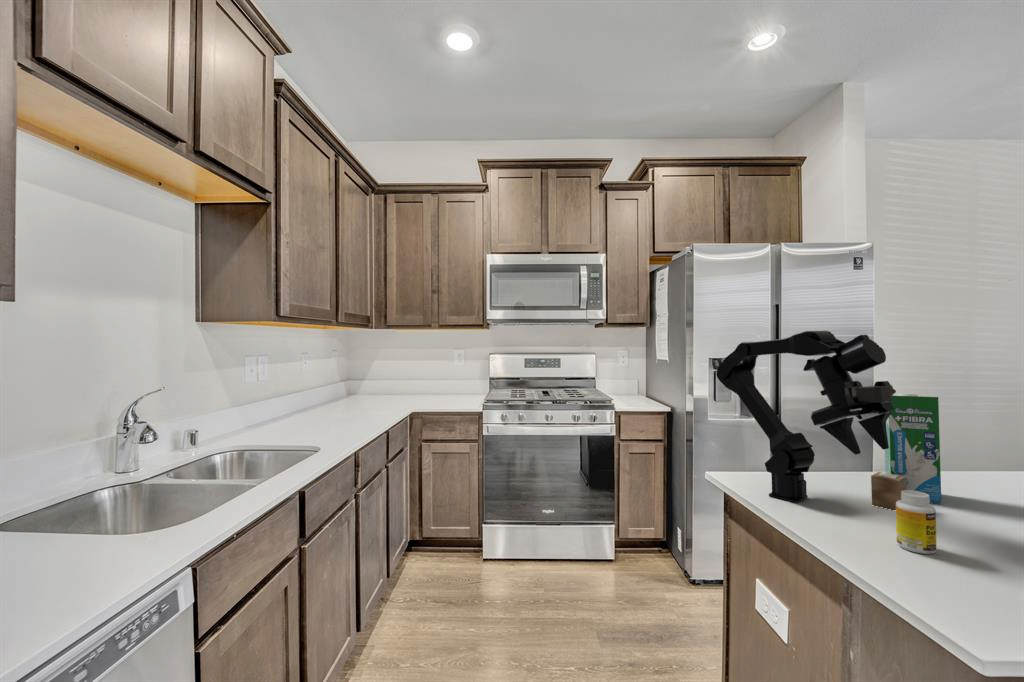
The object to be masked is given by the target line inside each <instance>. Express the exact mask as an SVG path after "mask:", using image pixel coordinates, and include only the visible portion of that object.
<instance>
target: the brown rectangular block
mask: <svg viewBox="0 0 1024 682" xmlns="http://www.w3.org/2000/svg"><path fill="white" fill-rule="evenodd" d="M870 480H871V481H870V483H871V484H870V485H871V506H872V505H874V506H873V507H875V506H878V507H877V508H879V507H883V508H882V509H884V508H887V509H886V510H888V509H891V510H890V511H893V510H896V502H897V501H898V500H901V491H903V490H906V477H905V476H900V475H894V474H888V473H885V472H883V471H882V472H881V471H877V472H876V473H874V474H872V475H871V476H870Z"/></svg>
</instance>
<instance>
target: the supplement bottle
mask: <svg viewBox="0 0 1024 682" xmlns="http://www.w3.org/2000/svg"><path fill="white" fill-rule="evenodd" d="M936 513H937V511H936V508H935V507H934V506H933V505H932V504H930V499H929V495H928V494H926V493H923V492H919V491H913V490H903V491H901V500H898V501H897V502H896V511H895V525H896V526H895V527H896V530H895V531H896V532H895V533H896V543H897V545H898V546H900V547H901V548H903V549H904V550H907V551H910V552H913V553H917V554H924V555H930V554H934V553H936V551H937V514H936Z"/></svg>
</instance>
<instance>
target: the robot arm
mask: <svg viewBox="0 0 1024 682" xmlns="http://www.w3.org/2000/svg"><path fill="white" fill-rule="evenodd" d="M780 354H791V355H798V356H807V357H812V356H815V357H816V356H821V357H820V358H817V359H815V358H812V359H811V358H810V359H807V360H806V364H805V365H804V366H803V371H804V372H810V371H814V372H815V375H816V377H817V378H818V380H819V383H820V385H821V387H822V388H823V390H820V391H819V392H820V394H821V396H822V397H823V396H826V397H827V398H828V400H829V402H830V405H827V406H825V407H822V408H820V409H817V410H814V411H812V412H811V415H810V420H811V421H812V424H813V426H819V428H820V430H821V429H822V430H824V431H826V432H827V433H828V434H829V435H830V436H832V437H833V438H835V439H836V441H838V442H840V443H841V444H842V445H843V446H844V447H845V448H846V449H848V451H850V452H852V454H854V455H860V454H861V449H860V445H859V444H858V440H857V438H856V436H855V434H854V433H855V432H854V431H853V428H852V426H853V422H854V417H856V418H857V419H858V420H859V421H857V422H858V423H859V425H860V426H861V427H862V428H863V429H864V430H865V432H866V433H867V434H868V435H869V436H870V437H871V439H873V440H874V442H875V443H876V444H877V445H878V446H879V447H880V449H882V450H884V451H885V449H888V448H889V445H888V438H887V431H886V421H887V419H888V417H889V416H890V415H892V412H890V411H893V410H895V409H894V408H893V406H892V404H891V402H889V401H893V399H892V396H894V395H895V394H896V392H897V391H896V389H894V386H893V385H892V384H891V383H890V381H888V380H880V381H875V383H874V385H873V386H872V385H870V386H863V384H862V383H861V382H860V381H859V380H853V378H852V376H851V374H850V373H852V374H853V375H854V374H856V375H857V374H859V373H862V372H865V371H867V370H870V369H872V368H874V367H876V366H879V365H882V364H884V363H885V362H886V360H887V356H886V352H885V350H884V349H883V348H882V347H881V346H880V345H879V344H878V343H877V342H875V341H874V340H872V339H871V338H870V336H869V335H868V334H860V335H858V336H855V337H854V338H853V339H851V340H849V341H847V342H844V341H843V340H840V339H838V338H836V336H835V334H833V333H831V331H829V330H805V331H802V332H799V333H798V332H797V333H794V334H793V335H791V336H789V337H785V338H778V339H768V340H760V341H759V340H758V341H743V342H740V343H739V344H738V345H737V346H736V348H735V349H734V351H732V352H731V353H729V354H728V355H727V356H726V357H724V359H723V360H722V362H721V363H720V364H719V365H718V366H717V370H716V377H717V379H718V381H719V382H720V383H721V384H722V385H723V386H724V387H725V388H726V389H728V390H730V391H732V392H733V393H735V394H736V395H737V396H738V397H739V399H740V400H741V401H742V403H743V404H744V406H745V407H746V409H747V410H748V411H749V413H750V414H751V416H752V417H753V419H754V420H755V421H756V422H757V424H758V425H759V427H760V428H761V429H762V431H763V432H764V434H765V435H766V437H767V438H768V440H769V451H770V452H771V454H772V456H771V457H770V458H769V459H767V461H766V462H764V466H765V469H766V472H767V473H770V475H771V492H770V493H768V496H769V497H771V498H777V499H780V500H784V501H789V502H791V503H799V502H801V501H803V500H805V499H807V498H808V497H809V495H808V494H807V493H808V492H807V491H808V490H807V481H806V479H805V473H808V472H809V469H810V467H811V466H812V464H813V463H814V461H815V456H816V455H815V452H814V450H813V449H812V448H813V447H814V445H812V444H811V443H810V442H808V440H807V439H806V437H805V435H804V434H803V433H802V432H795V433H793V432H791V431H790V430H789V429H788V428H787V427H786V426H785V424H784V423H783V421H782V420H781V419H780V418H779V416H778V415H777V414H776V413H777V412H775V411H774V409H773V408H772V407H771V405H770V404H769V403H768V402H767V400H766V399H765V397H764V396H763V395H762V393H761V392H760V391H759V389H758V388H757V387H756V385H755V377H754V374H753V372H752V371H753V370H754V368H755V367H756V365H757V359H758V357H759V356H766V355H768V356H769V355H780ZM831 354H834V355H832V356H829V355H831ZM887 412H889V413H887Z"/></svg>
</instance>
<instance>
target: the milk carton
mask: <svg viewBox="0 0 1024 682" xmlns="http://www.w3.org/2000/svg"><path fill="white" fill-rule="evenodd" d="M892 399H893V401H889V402H891V404H892V406H893V408H894V409H895V410H893V411H890V412H892V415H890V416H889V417H888V419H887V421H886V431H887V438H888V445H889V448H888V449H884V467H885V468H884V471H885V472H884V473H888V474H894V475H900V476H905V477H906V490H913V491H919V492H923V493H926V494H928V495H929V499H930V502H936V503H935V504H938V503H941V504H942V481H941V480H942V479H941V478H942V475H941V473H942V472H941V444H940V443H941V441H940V438H941V437H940V413H939V412H940V408H939V396H921V395H920V396H919V394H916V393H897V395H892ZM887 413H889V412H887Z"/></svg>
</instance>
